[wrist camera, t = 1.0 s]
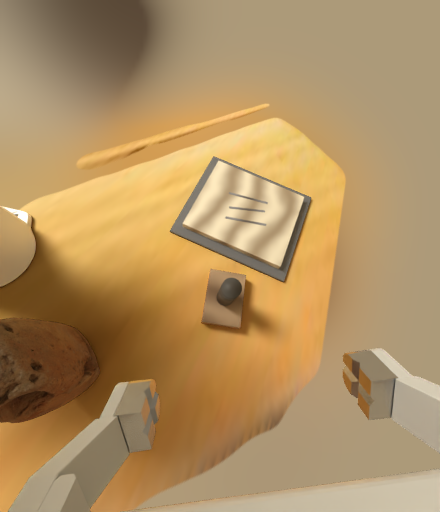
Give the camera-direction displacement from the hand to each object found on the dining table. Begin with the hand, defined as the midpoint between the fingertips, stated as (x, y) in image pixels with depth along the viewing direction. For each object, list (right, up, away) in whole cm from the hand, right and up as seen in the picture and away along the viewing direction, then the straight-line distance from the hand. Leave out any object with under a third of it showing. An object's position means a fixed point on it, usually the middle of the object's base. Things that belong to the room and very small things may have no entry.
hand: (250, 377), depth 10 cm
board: (+5, +15, +42) cm, 45 cm away
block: (-26, -13, +29) cm, 41 cm away
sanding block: (-1, -3, +36) cm, 36 cm away
